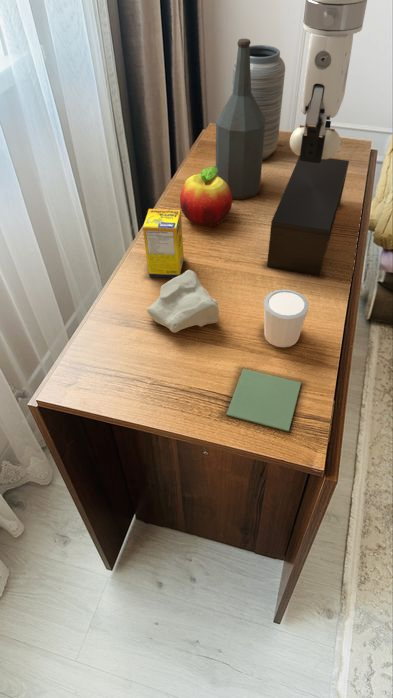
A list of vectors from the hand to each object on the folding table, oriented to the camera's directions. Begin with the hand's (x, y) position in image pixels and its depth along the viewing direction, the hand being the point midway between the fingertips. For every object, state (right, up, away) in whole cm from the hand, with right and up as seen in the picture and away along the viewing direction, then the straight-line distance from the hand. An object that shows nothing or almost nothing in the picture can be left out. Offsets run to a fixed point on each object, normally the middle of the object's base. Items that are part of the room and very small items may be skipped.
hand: (313, 152), depth 77 cm
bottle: (-9, +6, +37) cm, 39 cm away
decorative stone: (-20, -25, +8) cm, 34 cm away
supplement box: (-24, -15, +18) cm, 33 cm away
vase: (-4, +19, +49) cm, 53 cm away
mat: (-8, -38, -4) cm, 39 cm away
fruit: (-16, -3, +29) cm, 33 cm away
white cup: (-4, -28, +5) cm, 29 cm away
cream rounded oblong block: (0, 0, 0) cm, 1 cm away
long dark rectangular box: (+4, -7, +24) cm, 26 cm away
